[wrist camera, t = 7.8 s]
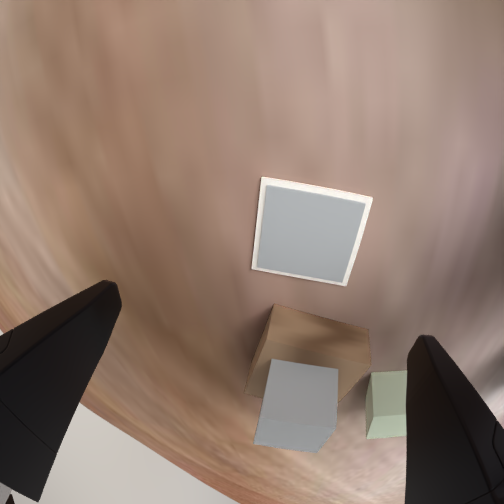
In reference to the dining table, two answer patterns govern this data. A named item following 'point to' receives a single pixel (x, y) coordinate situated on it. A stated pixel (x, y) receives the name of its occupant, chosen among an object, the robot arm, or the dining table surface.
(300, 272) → the tile
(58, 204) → the dining table surface
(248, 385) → the walnut base
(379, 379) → the sage cube
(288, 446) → the grey cube
